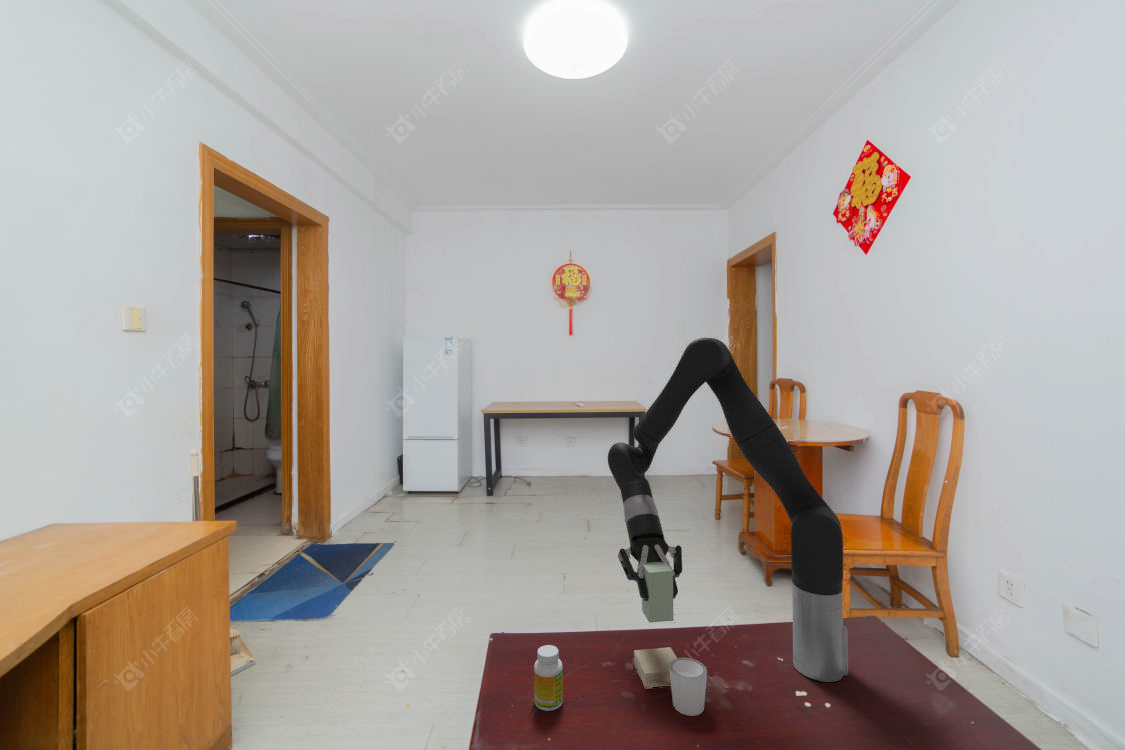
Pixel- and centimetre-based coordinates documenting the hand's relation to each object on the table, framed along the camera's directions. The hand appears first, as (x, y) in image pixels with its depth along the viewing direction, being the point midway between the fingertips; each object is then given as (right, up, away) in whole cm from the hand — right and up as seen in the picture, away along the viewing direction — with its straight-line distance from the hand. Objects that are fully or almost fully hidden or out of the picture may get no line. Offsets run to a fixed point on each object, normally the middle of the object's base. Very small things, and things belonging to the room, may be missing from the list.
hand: (660, 598), depth 98 cm
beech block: (0, -16, +2) cm, 17 cm away
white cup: (+4, -17, -7) cm, 19 cm away
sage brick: (0, -4, +2) cm, 5 cm away
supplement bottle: (-22, -17, -6) cm, 29 cm away
